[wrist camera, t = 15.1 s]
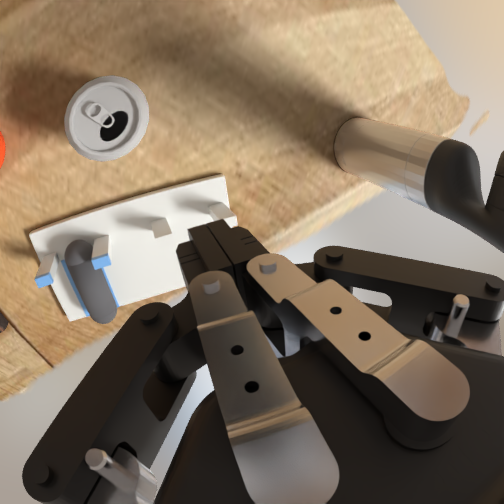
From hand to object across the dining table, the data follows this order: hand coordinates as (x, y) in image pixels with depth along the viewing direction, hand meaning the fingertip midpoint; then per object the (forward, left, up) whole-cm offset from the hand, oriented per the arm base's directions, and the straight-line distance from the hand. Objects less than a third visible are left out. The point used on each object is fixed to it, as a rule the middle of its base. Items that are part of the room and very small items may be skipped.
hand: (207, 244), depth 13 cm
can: (+4, -6, -27) cm, 28 cm away
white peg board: (+5, +12, -26) cm, 29 cm away
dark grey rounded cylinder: (+12, +13, -25) cm, 31 cm away
